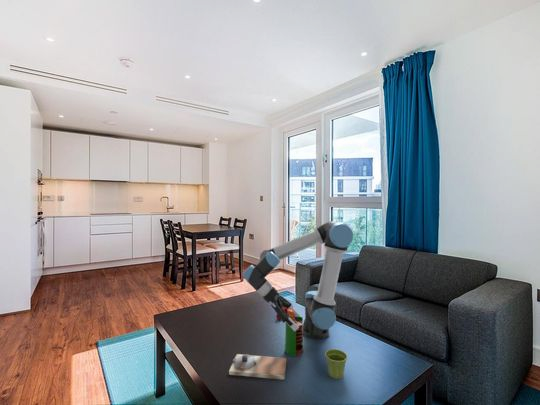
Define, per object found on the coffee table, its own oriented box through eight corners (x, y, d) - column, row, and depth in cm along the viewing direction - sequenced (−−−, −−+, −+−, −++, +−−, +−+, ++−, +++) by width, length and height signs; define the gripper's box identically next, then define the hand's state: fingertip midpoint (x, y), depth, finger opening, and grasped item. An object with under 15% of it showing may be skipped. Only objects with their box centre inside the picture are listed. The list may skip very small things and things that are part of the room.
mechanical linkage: (283, 310, 188) (283, 302, 188) (292, 312, 185) (292, 304, 185) (273, 319, 173) (273, 311, 173) (283, 322, 170) (283, 313, 170)
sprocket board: (286, 361, 129) (286, 351, 129) (284, 379, 117) (284, 369, 116) (236, 357, 133) (236, 347, 133) (229, 374, 120) (228, 364, 120)
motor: (302, 357, 133) (302, 316, 132) (283, 355, 134) (283, 314, 134) (303, 346, 143) (304, 307, 142) (286, 344, 144) (286, 306, 144)
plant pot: (331, 365, 127) (331, 346, 126) (350, 373, 121) (350, 353, 120) (321, 375, 119) (321, 355, 119) (341, 384, 113) (341, 364, 113)
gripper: (266, 288, 152) (293, 316, 151) (257, 306, 128) (290, 340, 126) (275, 279, 151) (303, 307, 150) (269, 295, 127) (302, 330, 125)
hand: (297, 322), depth 138 cm, fingers open, 13 cm apart
